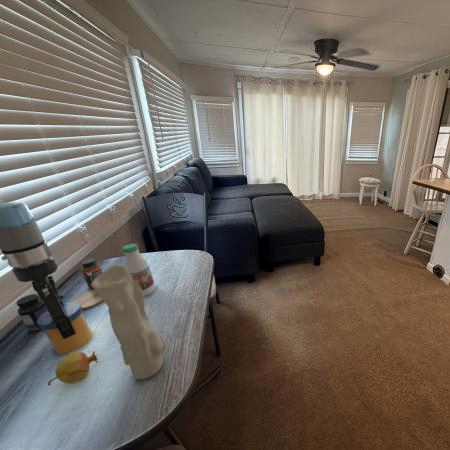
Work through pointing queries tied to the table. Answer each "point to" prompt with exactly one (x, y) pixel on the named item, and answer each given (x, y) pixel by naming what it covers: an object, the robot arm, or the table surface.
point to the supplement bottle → (91, 271)
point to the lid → (69, 308)
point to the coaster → (88, 299)
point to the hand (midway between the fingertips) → (67, 327)
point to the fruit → (74, 367)
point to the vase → (130, 321)
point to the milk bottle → (138, 268)
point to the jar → (73, 341)
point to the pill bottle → (31, 311)
